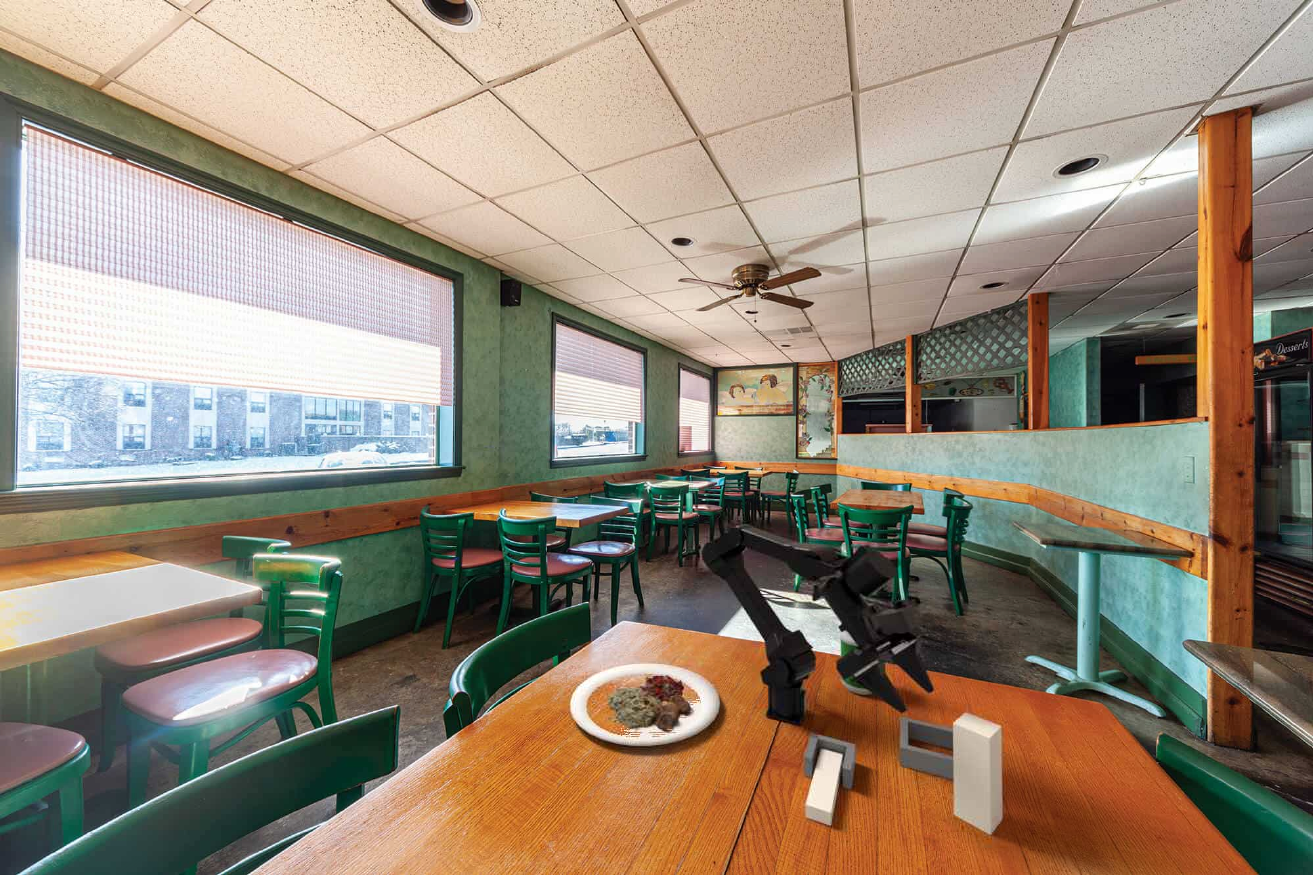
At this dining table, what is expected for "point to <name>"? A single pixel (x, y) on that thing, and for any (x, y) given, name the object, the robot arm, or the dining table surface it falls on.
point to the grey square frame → (923, 757)
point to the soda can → (846, 647)
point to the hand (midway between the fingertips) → (918, 701)
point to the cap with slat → (827, 774)
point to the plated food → (649, 704)
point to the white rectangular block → (977, 772)
